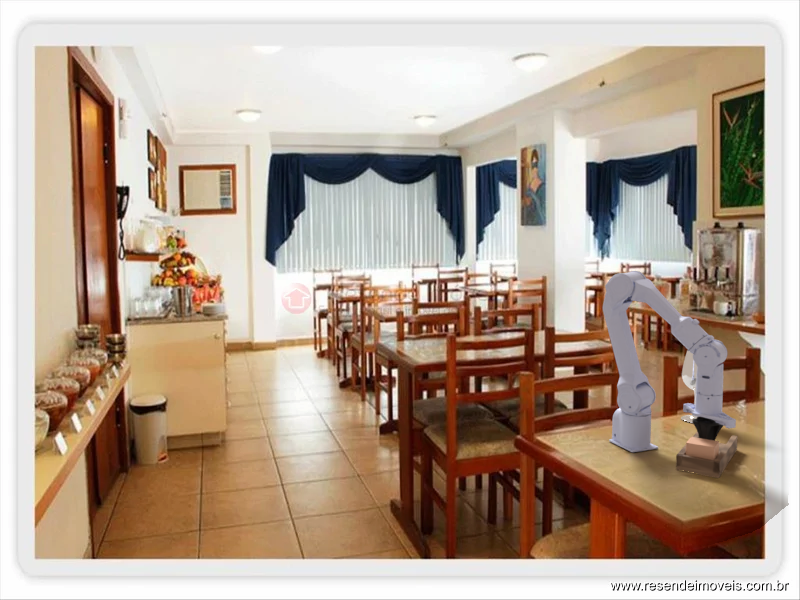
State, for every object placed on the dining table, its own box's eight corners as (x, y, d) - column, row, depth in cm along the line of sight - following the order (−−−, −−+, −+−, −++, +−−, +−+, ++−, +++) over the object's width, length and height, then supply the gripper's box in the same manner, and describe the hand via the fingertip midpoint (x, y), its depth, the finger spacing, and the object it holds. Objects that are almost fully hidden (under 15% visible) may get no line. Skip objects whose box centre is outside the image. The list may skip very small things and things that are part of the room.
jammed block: (690, 457, 159) (691, 436, 158) (718, 462, 155) (719, 441, 155) (685, 463, 155) (686, 442, 154) (713, 468, 151) (714, 447, 151)
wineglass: (703, 415, 195) (705, 347, 193) (715, 424, 187) (718, 353, 185) (676, 416, 195) (678, 348, 193) (686, 424, 188) (689, 353, 185)
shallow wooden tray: (698, 443, 172) (698, 429, 171) (736, 449, 167) (737, 436, 166) (675, 469, 154) (676, 455, 154) (718, 478, 149) (719, 462, 149)
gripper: (673, 387, 163) (671, 441, 164) (718, 402, 149) (716, 461, 150) (697, 384, 165) (695, 438, 166) (744, 399, 151) (741, 457, 152)
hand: (707, 449), depth 158 cm, fingers closed
